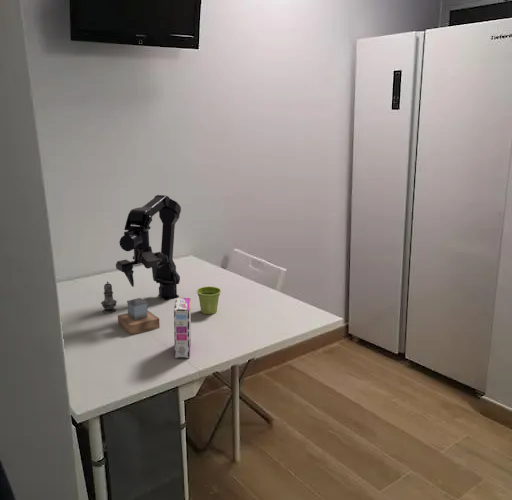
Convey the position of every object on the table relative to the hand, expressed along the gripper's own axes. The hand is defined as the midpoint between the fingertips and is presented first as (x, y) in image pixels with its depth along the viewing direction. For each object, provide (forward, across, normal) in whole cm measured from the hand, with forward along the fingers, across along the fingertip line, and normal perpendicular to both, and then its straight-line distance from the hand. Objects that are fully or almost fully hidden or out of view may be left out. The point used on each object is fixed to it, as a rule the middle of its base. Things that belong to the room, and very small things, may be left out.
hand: (143, 283), depth 195 cm
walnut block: (+12, -7, -8) cm, 17 cm away
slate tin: (+8, -8, -8) cm, 14 cm away
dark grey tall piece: (+13, -9, +12) cm, 19 cm away
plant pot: (+13, +20, -13) cm, 27 cm away
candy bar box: (+12, -6, -35) cm, 38 cm away
